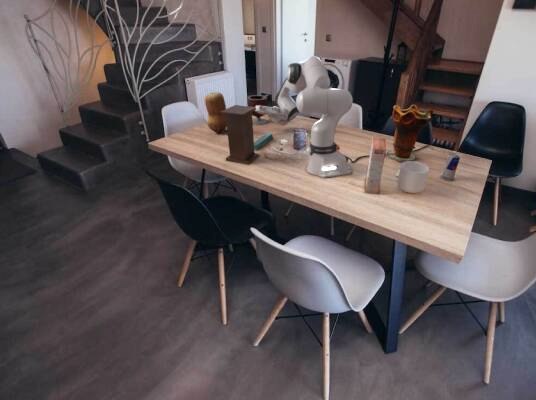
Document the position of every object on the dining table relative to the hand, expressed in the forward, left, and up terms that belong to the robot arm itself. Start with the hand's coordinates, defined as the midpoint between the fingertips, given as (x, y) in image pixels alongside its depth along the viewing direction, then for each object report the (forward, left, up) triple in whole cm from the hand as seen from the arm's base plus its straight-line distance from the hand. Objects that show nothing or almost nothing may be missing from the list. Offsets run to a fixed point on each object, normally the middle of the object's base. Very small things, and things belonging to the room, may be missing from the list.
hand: (266, 107), depth 179 cm
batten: (+4, +6, -20) cm, 21 cm away
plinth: (+15, +27, -20) cm, 37 cm away
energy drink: (-83, +63, -20) cm, 106 cm away
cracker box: (-43, +66, -20) cm, 81 cm away
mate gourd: (+3, -37, -20) cm, 43 cm away
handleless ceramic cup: (-59, +71, -20) cm, 94 cm away
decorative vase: (-73, +34, -20) cm, 83 cm away
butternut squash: (+30, -17, -20) cm, 40 cm away
